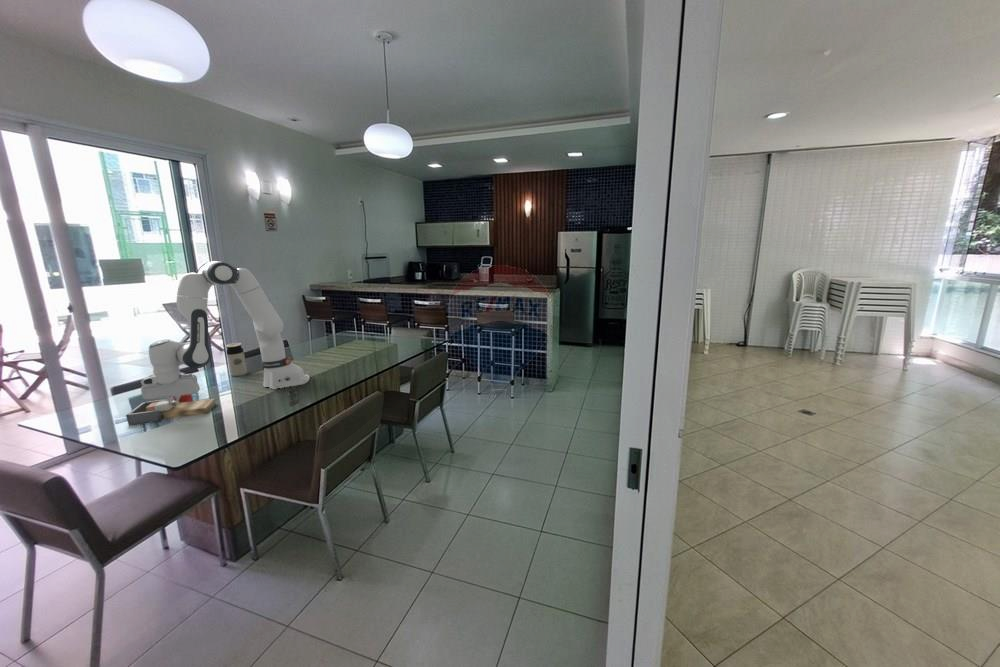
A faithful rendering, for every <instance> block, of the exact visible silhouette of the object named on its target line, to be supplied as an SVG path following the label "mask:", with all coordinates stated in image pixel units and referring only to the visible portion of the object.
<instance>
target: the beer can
mask: <svg viewBox="0 0 1000 667" xmlns="http://www.w3.org/2000/svg"><path fill="white" fill-rule="evenodd" d="M192 396H193V395H192V394H190V395H182V396H181V397H180V399H179V403H182V402H190V401H194V400H193V397H192ZM173 397H174V399H173V400H174V401H176V399H177V398H175V396H173Z"/></svg>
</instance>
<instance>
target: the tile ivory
mask: <svg viewBox="0 0 1000 667" xmlns="http://www.w3.org/2000/svg"><path fill="white" fill-rule="evenodd" d="M174 406H175V405H174ZM174 406H170V403H169V402H168V401H161V402H159V403H157V404H156V405H155V406H154V408H155V410H159V411H160V412H161V411H167V410H170V409H171V408H172V407H174Z"/></svg>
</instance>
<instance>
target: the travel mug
mask: <svg viewBox="0 0 1000 667" xmlns="http://www.w3.org/2000/svg"><path fill="white" fill-rule="evenodd" d="M225 347H226V351H225V352H226V356H227V361H228V364H229V371H230V376H232V377H240V376H239V375H241V376H244V375H246V374H248V368H247V362H246V358H245V353H244V348H243V347H242V343H241V342H233V343H228V344H226V345H225Z"/></svg>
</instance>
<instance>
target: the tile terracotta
mask: <svg viewBox="0 0 1000 667" xmlns="http://www.w3.org/2000/svg"><path fill="white" fill-rule="evenodd" d="M157 403H159V402H155V403H151V404H150V405H149V406H147V407H146V410H147V411H155V408H154V406H155V405H156V404H157ZM161 412H163V411H161ZM161 412H160V413H161Z"/></svg>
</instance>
